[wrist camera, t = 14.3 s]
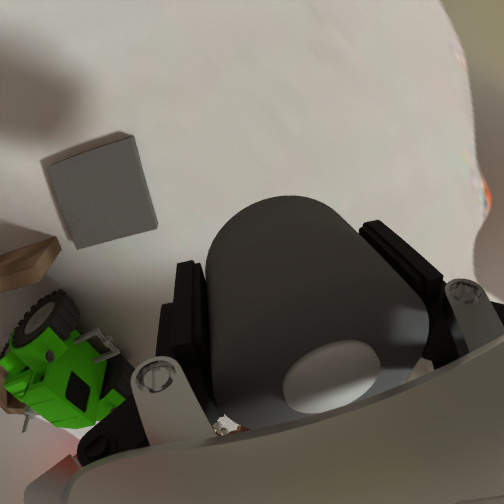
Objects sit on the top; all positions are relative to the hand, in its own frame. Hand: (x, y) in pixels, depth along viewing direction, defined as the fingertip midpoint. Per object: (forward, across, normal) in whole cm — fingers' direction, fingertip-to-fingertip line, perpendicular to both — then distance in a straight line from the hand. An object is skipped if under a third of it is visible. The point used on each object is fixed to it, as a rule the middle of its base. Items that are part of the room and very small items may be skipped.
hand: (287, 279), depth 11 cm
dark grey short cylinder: (+1, 0, 0) cm, 1 cm away
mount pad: (+14, +10, -1) cm, 17 cm away
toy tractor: (+14, +21, +12) cm, 28 cm away
